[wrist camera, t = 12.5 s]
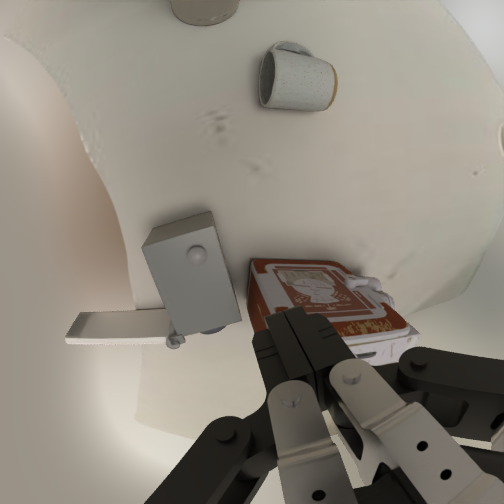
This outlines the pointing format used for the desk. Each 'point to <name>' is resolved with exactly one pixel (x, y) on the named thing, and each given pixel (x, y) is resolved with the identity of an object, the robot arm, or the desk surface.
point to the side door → (121, 327)
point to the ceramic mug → (296, 79)
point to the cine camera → (332, 305)
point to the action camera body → (191, 277)
